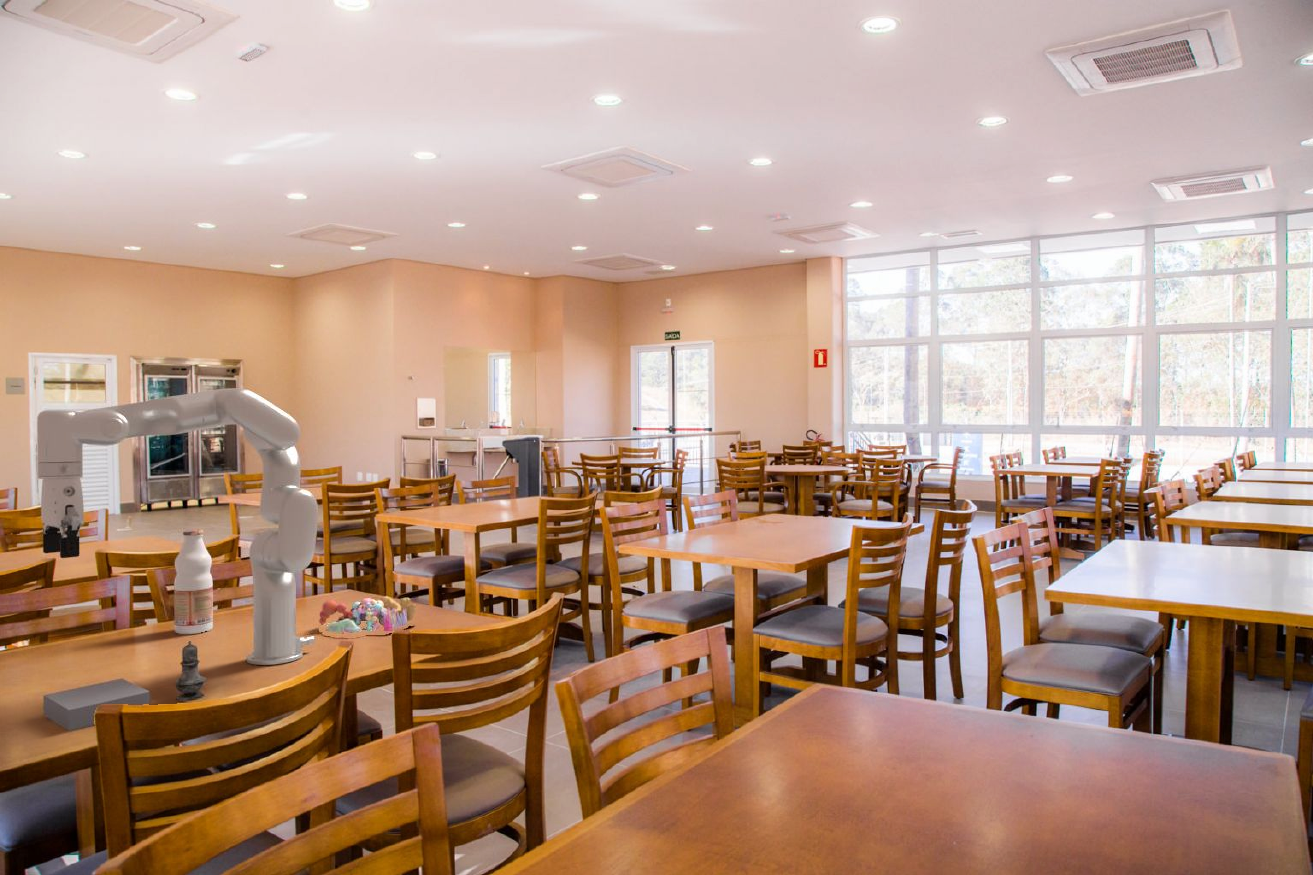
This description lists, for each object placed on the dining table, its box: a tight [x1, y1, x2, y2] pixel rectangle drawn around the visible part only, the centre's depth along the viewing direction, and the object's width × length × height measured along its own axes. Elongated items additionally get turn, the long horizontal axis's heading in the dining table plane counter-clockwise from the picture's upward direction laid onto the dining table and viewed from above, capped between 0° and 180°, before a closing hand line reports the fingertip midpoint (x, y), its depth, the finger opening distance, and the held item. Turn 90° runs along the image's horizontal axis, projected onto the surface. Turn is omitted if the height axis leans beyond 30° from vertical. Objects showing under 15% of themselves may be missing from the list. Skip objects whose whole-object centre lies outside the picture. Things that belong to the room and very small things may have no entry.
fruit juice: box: [173, 529, 214, 635], centre depth 235 cm, size 9×9×28 cm
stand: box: [43, 678, 151, 732], centre depth 169 cm, size 14×14×4 cm
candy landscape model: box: [318, 595, 417, 634], centre depth 239 cm, size 25×24×9 cm
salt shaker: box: [173, 640, 207, 702], centre depth 179 cm, size 6×6×12 cm
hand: (61, 554), depth 172 cm, fingers open, 9 cm apart
